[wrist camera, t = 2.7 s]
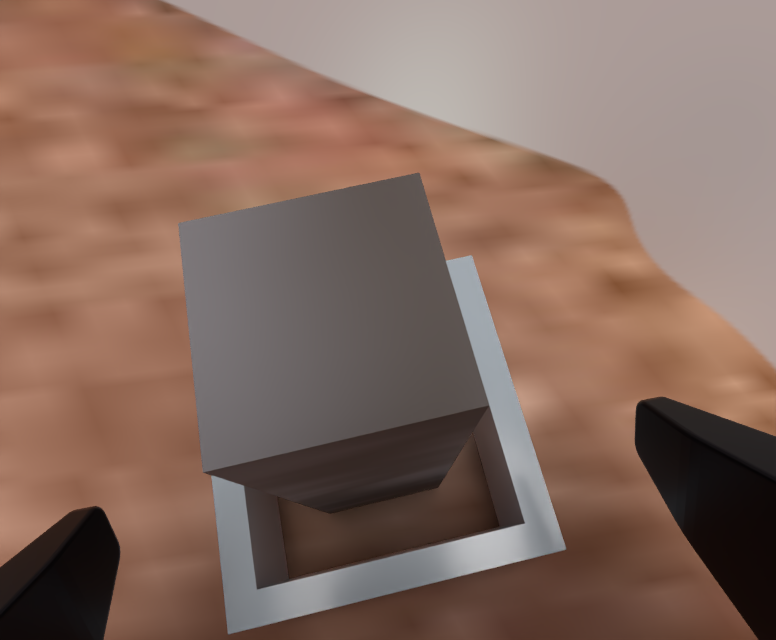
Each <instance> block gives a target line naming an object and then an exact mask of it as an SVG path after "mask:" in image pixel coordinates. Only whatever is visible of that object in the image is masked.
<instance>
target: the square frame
mask: <svg viewBox="0 0 776 640" xmlns="http://www.w3.org/2000/svg"><path fill="white" fill-rule="evenodd" d="M446 263H447V267H448V270H449V273H450V277H451V280H452V283H453V287H454V290H455V293H456V296H457V300H458V303H459V306H460V310H461V313H462V316H463V320H464V323H465V326H466V330H467V333H468V336H469V340H470V343H471V346H472V350H473V353H474V356H475V360H476V363H477V366H478V370H479V373H480V376H481V380H482V383H483V386H484V390H485V393H486V396H487V399H488V403H489V407H488V408H487V410H486V411H485V413H484V415H483V416H482V418H481V419H480V421H479V423H478V424H477V426H476V427H475V429H474V431H473V434H474V438H475V442H476V445H477V449H478V452H479V456H480V459H481V463H482V466H483V470H484V473H485V477H486V480H487V484H488V487H489V491H490V494H491V498H492V501H493V505H494V508H495V512H496V515H497V519H498V522H499V526H500V527H497V528H493V529H489V530H484V531H480V532H476V533H472V534H468V535H464V536H460V537H456V538H452V539H448V540H444V541H440V542H436V543H432V544H428V545H424V546H420V547H416V548H412V549H408V550H403V551H399V552H395V553H391V554H387V555H383V556H379V557H375V558H371V559H367V560H363V561H359V562H355V563H351V564H347V565H343V566H339V567H335V568H331V569H327V570H322V571H318V572H314V573H310V574H306V575H302V576H298V577H294V578H290V579H289V575H288V568H287V561H286V554H285V548H284V541H283V534H282V527H281V520H280V513H279V506H278V499H277V496H274V495H271V494H268V493H265V492H262V491H259V490H256V489H253V488H250V487H246V486H243V485H240V484H237V483H234V482H231V481H228V480H225V479H222V478H219V477H215V476H212V475H211V476H212V486H213V495H214V505H215V514H216V524H217V534H218V543H219V553H220V562H221V572H222V582H223V591H224V601H225V610H226V620H227V629H228V634H232V633H236V632H240V631H244V630H248V629H252V628H256V627H260V626H264V625H268V624H272V623H276V622H280V621H284V620H288V619H292V618H296V617H300V616H304V615H308V614H312V613H316V612H320V611H324V610H328V609H332V608H336V607H340V606H344V605H348V604H352V603H356V602H359V601H363V600H367V599H371V598H375V597H379V596H383V595H387V594H391V593H395V592H399V591H403V590H407V589H411V588H415V587H419V586H423V585H427V584H431V583H435V582H439V581H443V580H447V579H451V578H455V577H459V576H463V575H467V574H471V573H475V572H479V571H483V570H487V569H491V568H495V567H499V566H503V565H507V564H511V563H515V562H519V561H523V560H527V559H531V558H535V557H539V556H543V555H547V554H551V553H555V552H559V551H563V550H567V549H566V546H565V543H564V540H563V537H562V534H561V531H560V528H559V525H558V522H557V518H556V515H555V512H554V509H553V506H552V503H551V500H550V497H549V494H548V491H547V487H546V484H545V481H544V478H543V475H542V472H541V469H540V466H539V463H538V459H537V456H536V453H535V450H534V447H533V444H532V441H531V438H530V435H529V432H528V428H527V425H526V422H525V419H524V416H523V413H522V410H521V407H520V404H519V401H518V397H517V394H516V391H515V388H514V385H513V382H512V379H511V376H510V373H509V370H508V366H507V363H506V360H505V357H504V354H503V351H502V348H501V345H500V342H499V339H498V335H497V332H496V329H495V326H494V323H493V320H492V317H491V314H490V311H489V308H488V304H487V301H486V298H485V295H484V292H483V289H482V286H481V283H480V280H479V277H478V273H477V270H476V267H475V264H474V261H473V258H472V255H471V256H466V257H462V258H457V259H452V260H448V261H446Z"/></svg>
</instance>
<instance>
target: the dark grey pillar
mask: <svg viewBox="0 0 776 640" xmlns="http://www.w3.org/2000/svg"><path fill="white" fill-rule="evenodd" d="M178 226H179V236H180V246H181V256H182V266H183V276H184V286H185V296H186V306H187V316H188V327H189V337H190V347H191V357H192V367H193V377H194V387H195V397H196V407H197V417H198V427H199V437H200V448H201V458H202V468H203V473H206V474H209V475H212V476H215V477H219V478H222V479H225V480H228V481H231V482H234V483H237V484H240V485H243V486H246V487H250V488H253V489H256V490H259V491H262V492H265V493H268V494H271V495H274V496H277V497H281V498H284V499H287V500H290V501H293V502H296V503H299V504H302V505H305V506H308V507H312V508H315V509H318V510H321V511H324V512H327V513H334V512H338V511H343V510H347V509H351V508H355V507H359V506H363V505H367V504H372V503H376V502H380V501H384V500H388V499H392V498H396V497H401V496H405V495H409V494H413V493H417V492H421V491H425V490H430V489H434V488H438V487H439V485H440V483H441V482H442V480H443V479H444V477H445V475H446V474H447V472H448V471H449V469H450V467H451V466H452V464H453V463H454V461H455V459H456V458H457V456H458V455H459V453H460V451H461V450H462V448H463V447H464V445H465V443H466V442H467V440H468V439H469V437H470V435H471V434H472V432H473V431H474V429H475V427H476V426H477V424H478V423H479V421H480V419H481V418H482V416H483V415H484V413H485V411H486V410H487V408H488V407H489V403H488V399H487V396H486V393H485V390H484V386H483V383H482V380H481V376H480V373H479V370H478V366H477V363H476V360H475V356H474V353H473V350H472V346H471V343H470V340H469V336H468V333H467V330H466V326H465V323H464V320H463V316H462V313H461V310H460V306H459V303H458V300H457V296H456V293H455V290H454V287H453V283H452V280H451V277H450V273H449V270H448V267H447V263H446V260H445V257H444V253H443V250H442V247H441V243H440V240H439V237H438V233H437V230H436V227H435V223H434V220H433V217H432V213H431V210H430V207H429V203H428V200H427V197H426V194H425V190H424V187H423V184H422V180H421V177H420V174H419V173H415V174H411V175H406V176H401V177H396V178H391V179H387V180H382V181H377V182H372V183H368V184H363V185H358V186H353V187H349V188H344V189H339V190H334V191H329V192H325V193H320V194H315V195H310V196H306V197H301V198H296V199H291V200H286V201H282V202H277V203H272V204H267V205H263V206H258V207H253V208H248V209H243V210H239V211H234V212H229V213H224V214H220V215H215V216H210V217H205V218H201V219H196V220H191V221H186V222H181V223H178Z"/></svg>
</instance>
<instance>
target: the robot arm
mask: <svg viewBox="0 0 776 640" xmlns="http://www.w3.org/2000/svg"><path fill="white" fill-rule="evenodd" d="M635 446H636V450H637V453H638V455H639V457H640V459H641V460H642V462H643V464H644V466H645V468H646V469H647V471H648V473H649V475H650V476H651V478H652V480H653V482H654V483H655V485H656V487H657V489H658V491H659V492H660V494H661V496H662V498H663V499H664V501H665V503H666V505H667V507H668V508H669V510H670V512H671V514H672V515H673V517H674V519H675V521H676V522H677V524H678V526H679V527H680V529H681V531H682V532H683V534H684V535H685V537H686V538H687V540H688V541H689V543H690V544H691V546H692V547H693V548H694V550H695V551H696V553H697V554H698V555H699V557H700V558H701V560H702V561H703V562H704V564H705V565H706V567H707V568H708V569H709V571H710V572H711V574H712V575H713V576H714V578H715V579H716V581H717V582H718V583H719V585H720V586H721V588H722V589H723V590H724V592H725V593H726V595H727V596H728V597H729V599H730V600H731V602H732V603H733V605H734V606H735V607H736V609H737V610H738V612H739V613H740V614H741V616H742V617H743V619H744V620H745V621H746V623H747V624H748V626H749V627H750V628H751V630H752V631H753V633H754V634H755V635H756V637H757V638H758V640H776V436H773V435H770V434H767V433H765V432H762V431H759V430H756V429H753V428H751V427H748V426H745V425H742V424H739V423H736V422H734V421H731V420H728V419H725V418H722V417H719V416H717V415H714V414H711V413H708V412H705V411H703V410H700V409H697V408H694V407H691V406H688V405H686V404H683V403H680V402H677V401H674V400H671V399H669V398H666V397H656V398H651V399H646V400H641V401H640V402H639V403H638V404H637V406H636V418H635ZM119 560H120V546H119V542H118V540H117V538H116V535H115V533H114V531H113V529H112V527H111V525H110V523H109V520H108V518H107V516H106V514H105V512H104V511H103V509H102V508H100V507H97V506H93V507H87V508H82V509H77V510H74V511H71V512H70V513H68V514H67V515H66V516H65V517H63V518H62V519H61V520H59V521H58V522H57V523H56V524H54V525H53V526H52V527H51V528H49V529H48V530H47V531H46V532H44V533H43V534H42V535H41V536H39V537H38V538H37V539H35V540H34V541H33V542H32V543H30V544H29V545H28V546H27V547H25V548H24V549H23V550H22V551H20V552H19V553H18V554H17V555H15V556H14V557H13V558H11V559H10V560H9V561H8V562H6V563H5V564H4V565H3V566H1V567H0V640H103V639H104V634H105V629H106V625H107V620H108V615H109V610H110V605H111V600H112V595H113V590H114V585H115V580H116V575H117V570H118V565H119Z"/></svg>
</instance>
